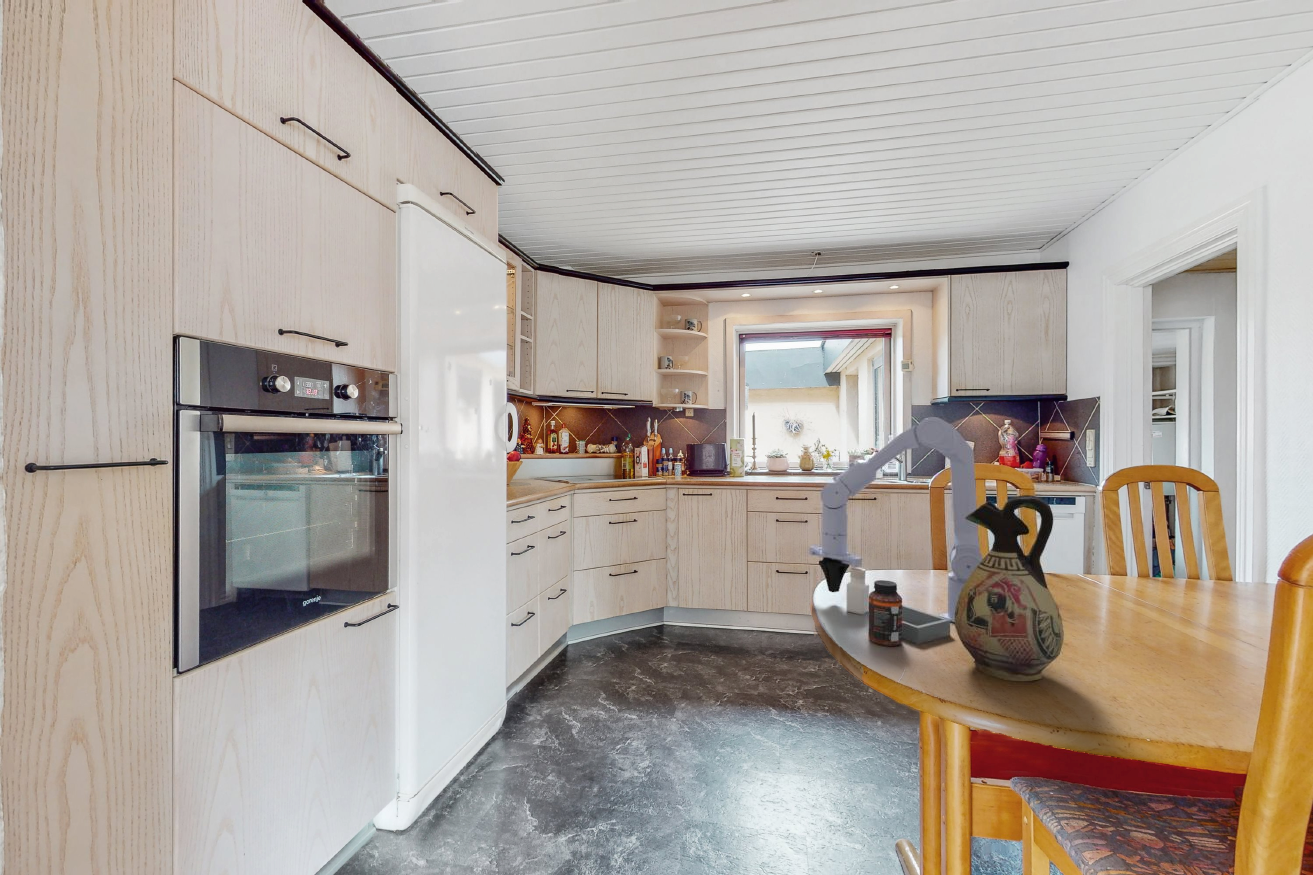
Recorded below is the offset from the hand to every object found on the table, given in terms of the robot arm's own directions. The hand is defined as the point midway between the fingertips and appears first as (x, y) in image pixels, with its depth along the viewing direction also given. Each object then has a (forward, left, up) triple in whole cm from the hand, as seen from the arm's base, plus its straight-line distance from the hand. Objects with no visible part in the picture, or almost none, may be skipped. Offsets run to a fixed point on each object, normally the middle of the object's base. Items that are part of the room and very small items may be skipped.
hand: (833, 591), depth 130 cm
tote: (0, +21, -3) cm, 21 cm away
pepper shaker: (0, +7, -3) cm, 8 cm away
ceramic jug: (+2, +41, -3) cm, 42 cm away
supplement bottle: (+9, +22, -3) cm, 24 cm away
